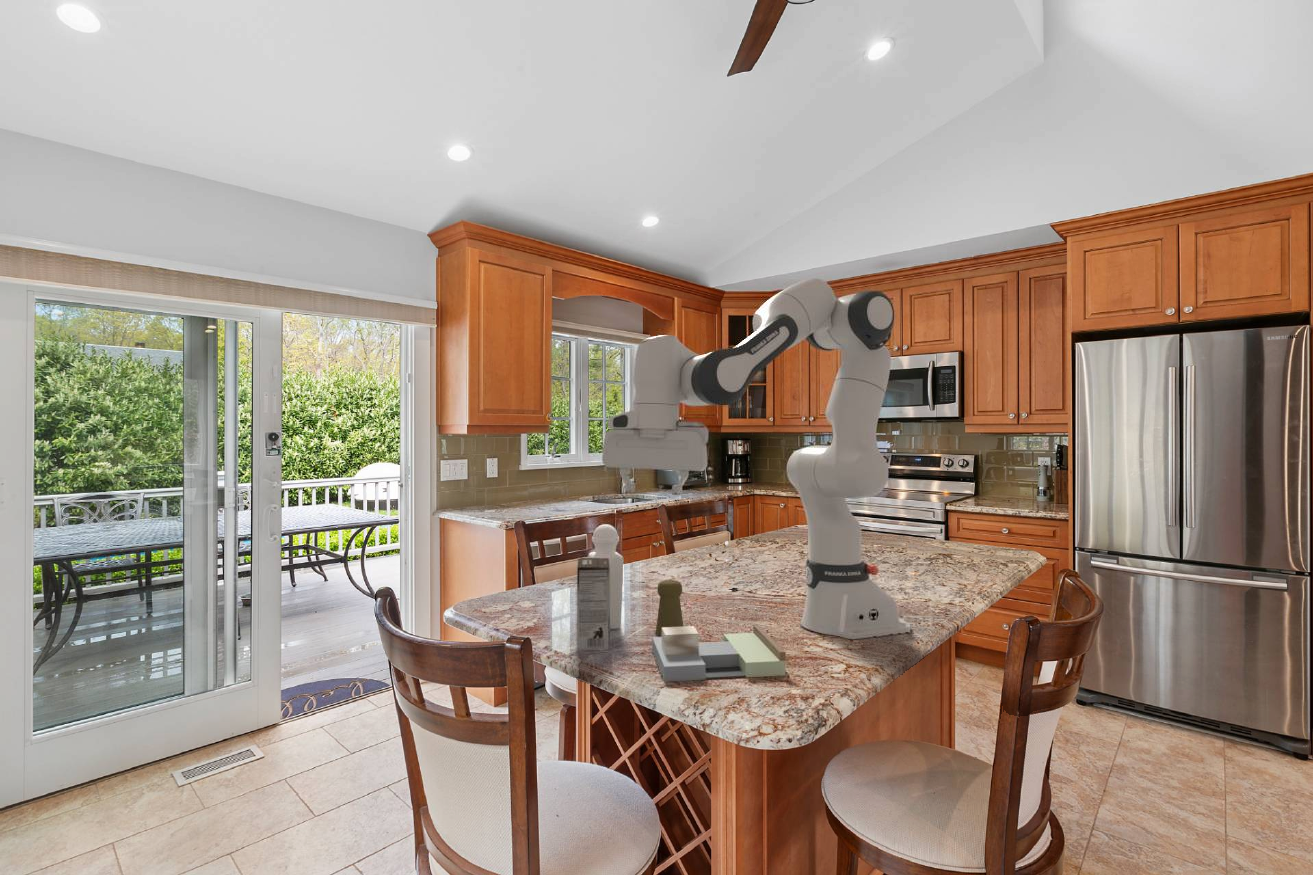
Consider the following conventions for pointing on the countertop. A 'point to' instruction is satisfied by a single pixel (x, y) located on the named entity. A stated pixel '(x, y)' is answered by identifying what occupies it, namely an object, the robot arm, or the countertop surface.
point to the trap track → (724, 658)
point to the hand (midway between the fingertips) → (653, 493)
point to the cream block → (680, 640)
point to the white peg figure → (606, 548)
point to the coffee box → (593, 603)
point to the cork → (669, 605)
